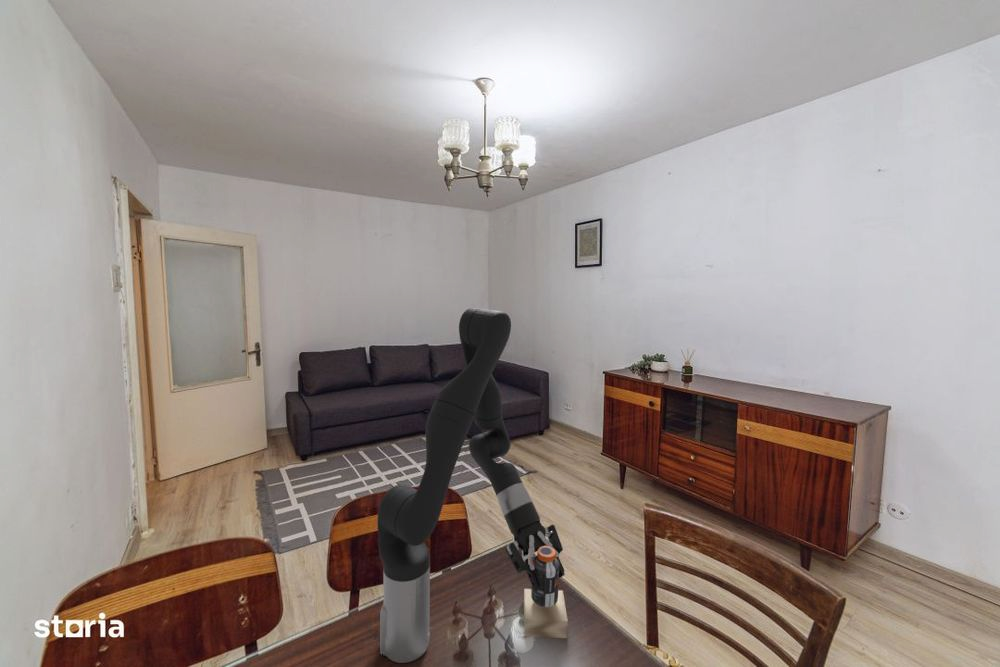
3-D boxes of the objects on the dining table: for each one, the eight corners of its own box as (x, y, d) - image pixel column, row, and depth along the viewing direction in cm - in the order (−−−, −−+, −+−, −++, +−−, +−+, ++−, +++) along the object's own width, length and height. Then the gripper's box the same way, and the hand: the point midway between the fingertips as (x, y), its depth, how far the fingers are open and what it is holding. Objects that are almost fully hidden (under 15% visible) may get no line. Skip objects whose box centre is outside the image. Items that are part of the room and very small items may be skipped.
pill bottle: (559, 609, 89) (561, 560, 88) (531, 607, 90) (533, 559, 88) (556, 589, 95) (558, 543, 94) (530, 587, 96) (532, 542, 94)
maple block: (524, 636, 89) (525, 618, 88) (523, 604, 98) (524, 588, 97) (566, 638, 88) (567, 621, 88) (562, 606, 97) (562, 590, 97)
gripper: (501, 511, 92) (535, 593, 84) (547, 493, 101) (583, 565, 93) (486, 523, 97) (517, 601, 89) (532, 504, 105) (564, 574, 97)
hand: (551, 582), depth 91 cm, fingers closed on pill bottle, 6 cm apart
